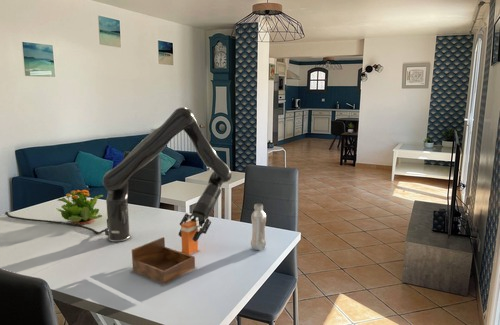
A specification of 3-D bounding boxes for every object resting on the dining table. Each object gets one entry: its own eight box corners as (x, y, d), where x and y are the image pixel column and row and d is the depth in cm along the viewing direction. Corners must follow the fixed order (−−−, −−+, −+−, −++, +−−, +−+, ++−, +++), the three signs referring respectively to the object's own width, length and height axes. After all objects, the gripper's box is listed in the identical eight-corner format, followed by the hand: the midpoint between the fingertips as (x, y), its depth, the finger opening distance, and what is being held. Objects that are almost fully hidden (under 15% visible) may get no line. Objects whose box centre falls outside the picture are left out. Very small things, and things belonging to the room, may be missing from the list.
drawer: (132, 271, 143) (131, 249, 142) (164, 257, 156) (163, 237, 154) (164, 285, 133) (163, 261, 132) (195, 268, 146) (194, 247, 144)
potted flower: (117, 220, 202) (115, 188, 199) (77, 233, 182) (74, 199, 179) (89, 212, 215) (86, 182, 212) (48, 224, 196) (45, 192, 193)
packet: (181, 253, 160) (180, 224, 158) (191, 248, 165) (190, 220, 162) (188, 255, 158) (187, 226, 155) (198, 251, 162) (197, 222, 160)
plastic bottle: (250, 246, 167) (250, 202, 164) (265, 245, 168) (265, 202, 164) (251, 252, 161) (251, 207, 158) (267, 251, 162) (267, 206, 158)
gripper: (188, 198, 167) (170, 230, 160) (213, 204, 159) (194, 238, 152) (197, 207, 173) (179, 238, 165) (221, 212, 165) (203, 246, 157)
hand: (187, 238), depth 159 cm, fingers open, 8 cm apart
